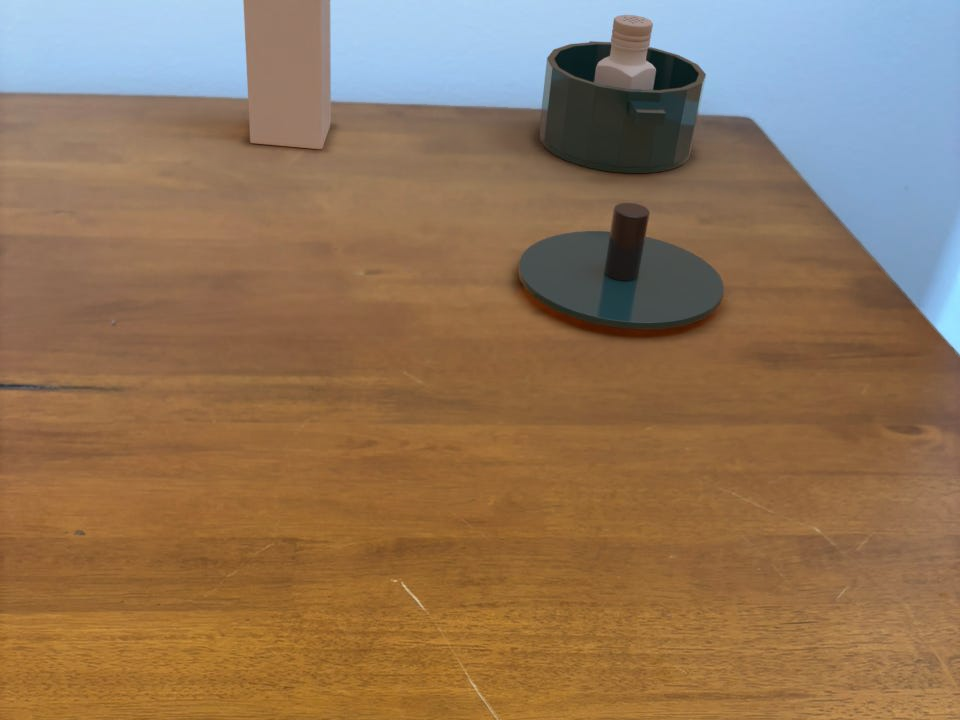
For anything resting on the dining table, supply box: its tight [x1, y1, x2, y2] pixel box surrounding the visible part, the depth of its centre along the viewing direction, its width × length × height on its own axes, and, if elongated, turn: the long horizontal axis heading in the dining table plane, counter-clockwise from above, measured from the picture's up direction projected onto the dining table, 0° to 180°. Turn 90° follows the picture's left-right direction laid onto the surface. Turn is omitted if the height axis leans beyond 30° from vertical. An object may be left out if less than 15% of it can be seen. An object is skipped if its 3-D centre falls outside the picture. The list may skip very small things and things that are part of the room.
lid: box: [517, 202, 725, 330], centre depth 80 cm, size 14×14×6 cm
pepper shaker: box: [594, 14, 656, 90], centre depth 100 cm, size 4×4×10 cm
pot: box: [538, 40, 707, 174], centre depth 102 cm, size 13×19×6 cm
